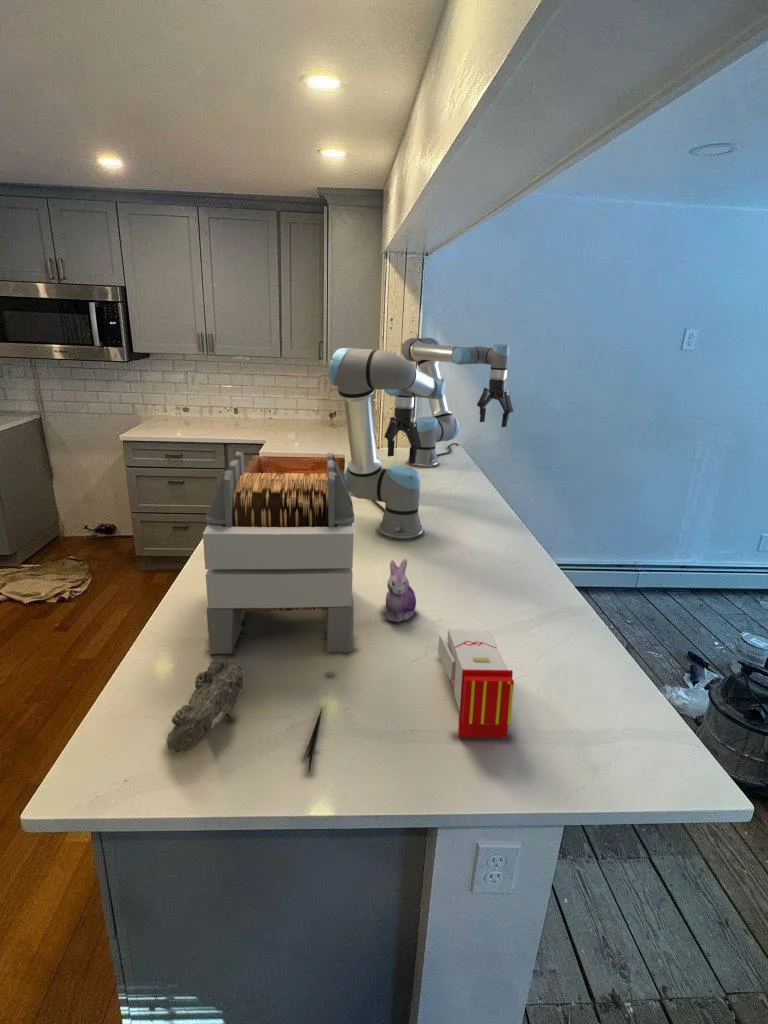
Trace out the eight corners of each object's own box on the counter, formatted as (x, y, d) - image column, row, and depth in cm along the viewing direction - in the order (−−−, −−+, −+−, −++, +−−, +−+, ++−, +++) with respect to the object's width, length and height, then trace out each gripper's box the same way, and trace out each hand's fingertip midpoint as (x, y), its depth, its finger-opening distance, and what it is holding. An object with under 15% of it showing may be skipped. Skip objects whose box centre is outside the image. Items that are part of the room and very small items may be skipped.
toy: (488, 613, 130) (523, 677, 101) (484, 667, 133) (517, 744, 104) (435, 612, 130) (455, 676, 101) (432, 666, 133) (451, 743, 103)
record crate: (229, 585, 158) (221, 442, 144) (346, 584, 161) (350, 444, 148) (206, 656, 126) (193, 481, 112) (353, 652, 130) (358, 483, 116)
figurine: (392, 627, 141) (395, 572, 136) (374, 608, 149) (376, 556, 144) (425, 619, 145) (429, 566, 140) (405, 601, 154) (408, 550, 149)
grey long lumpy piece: (192, 660, 117) (244, 628, 112) (224, 691, 120) (276, 661, 115) (142, 746, 98) (202, 712, 93) (182, 779, 101) (242, 748, 96)
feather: (331, 679, 122) (336, 673, 122) (307, 777, 96) (313, 769, 95) (324, 675, 122) (329, 669, 121) (298, 772, 95) (304, 764, 95)
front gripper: (432, 411, 217) (428, 465, 224) (391, 402, 235) (389, 452, 242) (417, 412, 212) (414, 467, 219) (377, 403, 231) (375, 454, 238)
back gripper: (524, 381, 256) (518, 428, 263) (483, 375, 274) (478, 419, 281) (513, 382, 251) (508, 429, 258) (472, 376, 269) (468, 420, 276)
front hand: (401, 459), depth 231 cm, fingers open, 13 cm apart
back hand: (492, 424), depth 270 cm, fingers open, 13 cm apart
